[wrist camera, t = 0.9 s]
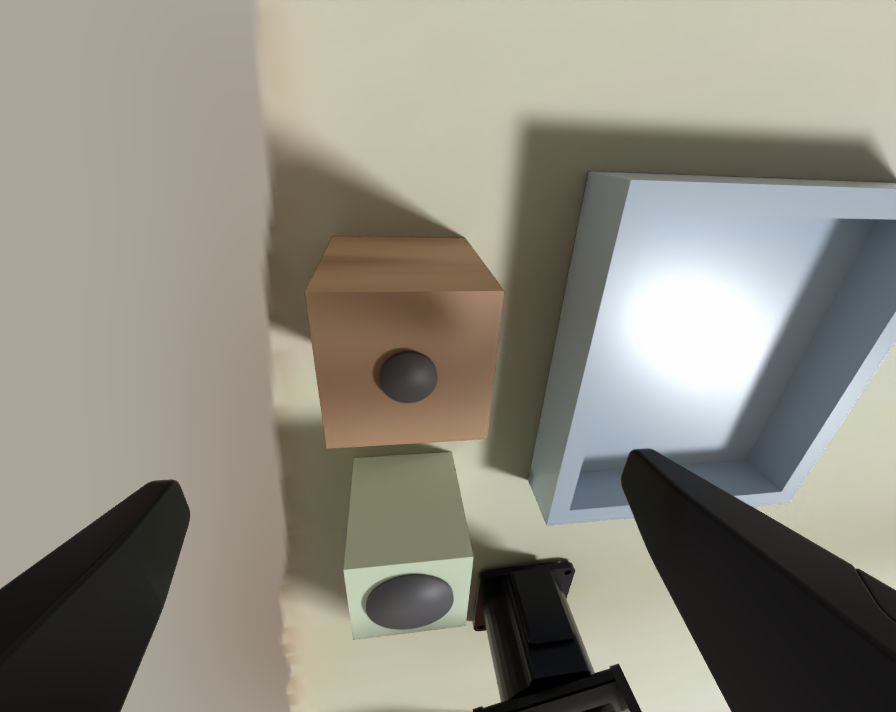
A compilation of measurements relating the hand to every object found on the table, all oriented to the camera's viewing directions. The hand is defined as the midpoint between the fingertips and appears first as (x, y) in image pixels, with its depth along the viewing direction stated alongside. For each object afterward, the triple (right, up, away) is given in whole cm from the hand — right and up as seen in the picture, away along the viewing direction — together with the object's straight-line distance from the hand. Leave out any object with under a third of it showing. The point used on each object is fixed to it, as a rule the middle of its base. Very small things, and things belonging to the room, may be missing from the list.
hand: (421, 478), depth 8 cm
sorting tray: (+12, +3, +12) cm, 17 cm away
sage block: (-2, -5, +14) cm, 15 cm away
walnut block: (-1, +5, +8) cm, 10 cm away
